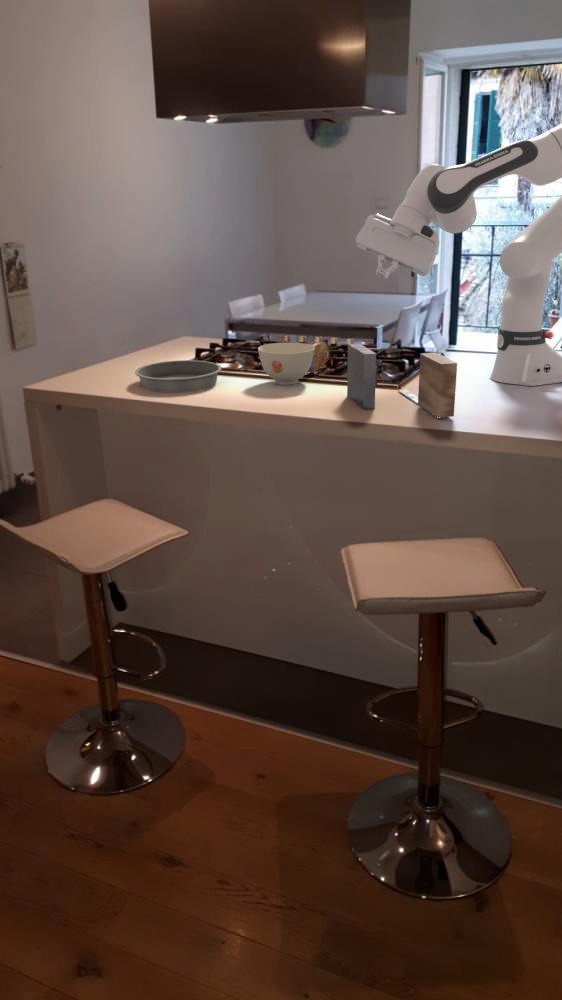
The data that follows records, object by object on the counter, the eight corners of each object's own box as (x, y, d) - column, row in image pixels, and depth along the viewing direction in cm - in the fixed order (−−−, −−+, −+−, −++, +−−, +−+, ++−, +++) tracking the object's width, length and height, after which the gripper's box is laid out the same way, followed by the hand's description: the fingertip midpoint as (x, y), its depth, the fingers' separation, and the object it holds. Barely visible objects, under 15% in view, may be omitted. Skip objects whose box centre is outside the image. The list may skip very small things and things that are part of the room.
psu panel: (406, 391, 220) (409, 339, 214) (446, 417, 195) (450, 359, 190) (346, 395, 216) (346, 343, 211) (378, 422, 192) (380, 364, 187)
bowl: (326, 381, 232) (326, 346, 228) (288, 392, 221) (288, 355, 217) (285, 373, 242) (284, 340, 238) (247, 383, 231) (246, 348, 227)
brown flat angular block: (432, 402, 205) (435, 352, 200) (453, 416, 193) (457, 363, 188) (417, 404, 204) (420, 353, 199) (438, 417, 192) (441, 364, 187)
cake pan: (171, 371, 248) (170, 357, 247) (238, 379, 237) (237, 364, 235) (118, 388, 229) (116, 372, 227) (187, 398, 217) (186, 382, 215)
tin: (311, 377, 238) (311, 348, 234) (301, 376, 239) (301, 347, 236) (330, 366, 250) (331, 339, 247) (321, 366, 251) (321, 339, 248)
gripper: (369, 205, 200) (342, 254, 200) (443, 236, 194) (415, 287, 194) (372, 217, 206) (346, 264, 206) (444, 247, 200) (417, 296, 200)
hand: (380, 275), depth 200 cm, fingers closed
